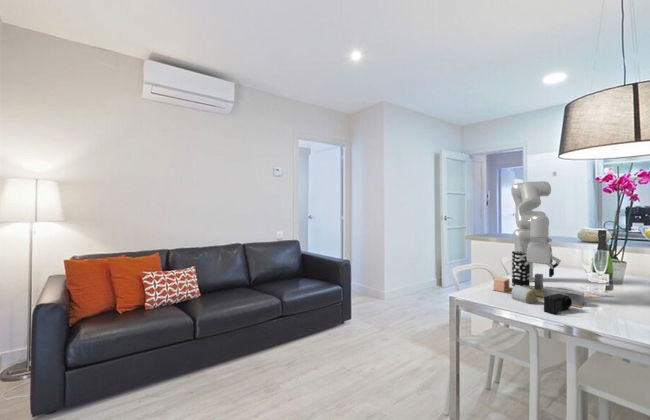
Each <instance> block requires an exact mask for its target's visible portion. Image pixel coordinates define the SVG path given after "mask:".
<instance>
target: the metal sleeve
mask: <svg viewBox="0 0 650 420" xmlns="http://www.w3.org/2000/svg"><path fill="white" fill-rule="evenodd" d="M554 294H562V295H567V296H569V298H571V300H572V304H573V305H578V306H583V304H584V302H585V292H581V291H575V290H568V289H563V288H557V287H550V286H545V287H544V288H543V299H544V297H545V296H549V295H554ZM583 307H584V306H583Z"/></svg>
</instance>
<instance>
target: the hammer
mask: <svg viewBox="0 0 650 420" xmlns="http://www.w3.org/2000/svg"><path fill="white" fill-rule="evenodd" d="M534 278H535V281H534V286H531V285H529V286H526V285H525V286H523V287H525V288H528V289H531V290H533V291H535V293H536V295H540V296H543V287H544V274H543V273H535V274H534Z"/></svg>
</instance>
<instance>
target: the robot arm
mask: <svg viewBox="0 0 650 420" xmlns="http://www.w3.org/2000/svg"><path fill="white" fill-rule="evenodd" d="M510 190H511V191H510V192H511V196H512V198H513V201H514V204H515V211H514V212H515V213H514V214H515V215H514V217H515V223H516V226H517V228H516V229H514V231H513V232H512V239H513V245H514V251H523V252H527V254H524V255H521V256H519V258H520V260H521V262H522V263H523V264H524V265H525V272H526V274H528V273H530V276H529V283H531V282H535V276H534V264H540V265H547V266H548V267H549V269H548V277H549V278H552V277H553V276H554V275H555V268H556V267H558V266H559V265H560V263H561V261H562V260H561V259H559V258H558V257H555V256H554V255H553V250H552V249H553V248H552V244H551V243H550V242H553V239H552V238H550V237H549V230H550V229H549V228H550V227H549V226H550V218H549V217H548V216H547V215H546V213H545V211H544V212H543V211H541V210H536V211H534V210H535V209H537V208H539V207H540V206H541V203H542V200H541V197H548V196H550V195H551V192H552V186H551V184H550V182H548V181H545V180H543V181H542V180H541V181H526V182H518V183H514V184H512V185H511V189H510ZM526 256H527V262H526V261H525V260H524V259H523V258H524V257H526ZM553 261H554V262H555V263H554V264H553ZM529 264H530V266H529ZM533 276H534V277H533Z"/></svg>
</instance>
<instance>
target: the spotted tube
mask: <svg viewBox="0 0 650 420" xmlns="http://www.w3.org/2000/svg"><path fill="white" fill-rule="evenodd" d="M524 254H527V252H523V251H515V250H513V251H511V286H512V287H514V286H516V285H520V286H525V285H526V286H530V282H529V276H530V273H528V274H526V272H525V265H524V264H523V263H522V262H521V260H520V258H519V256H521V255H524ZM523 259H524V260H525V261H526V262H527V256H526V257H524V258H523ZM529 266H530V264H529Z"/></svg>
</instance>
